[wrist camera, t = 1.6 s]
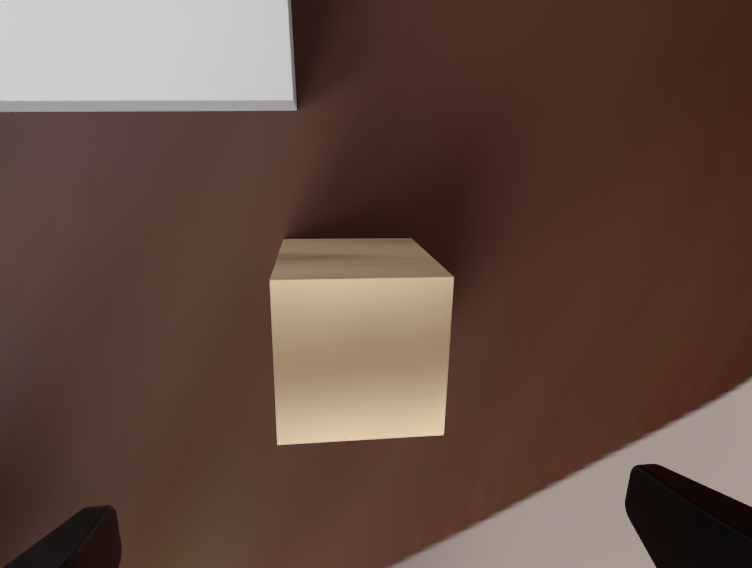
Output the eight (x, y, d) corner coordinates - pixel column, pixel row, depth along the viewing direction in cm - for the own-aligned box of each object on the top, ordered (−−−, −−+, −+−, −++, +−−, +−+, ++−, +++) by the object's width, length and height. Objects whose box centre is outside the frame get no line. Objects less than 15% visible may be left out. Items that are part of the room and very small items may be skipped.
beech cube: (406, 353, 20) (444, 434, 14) (287, 358, 19) (277, 444, 14) (411, 237, 19) (454, 276, 13) (283, 238, 18) (269, 280, 12)
